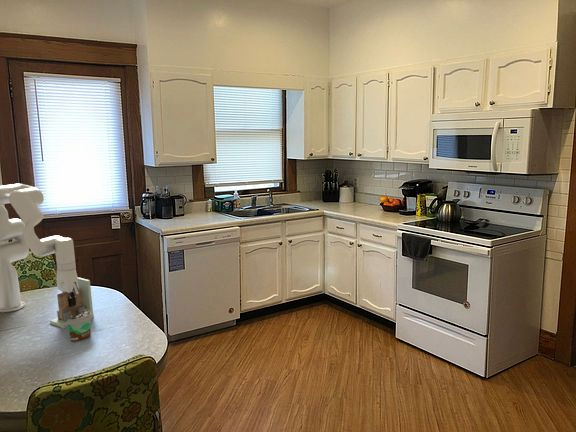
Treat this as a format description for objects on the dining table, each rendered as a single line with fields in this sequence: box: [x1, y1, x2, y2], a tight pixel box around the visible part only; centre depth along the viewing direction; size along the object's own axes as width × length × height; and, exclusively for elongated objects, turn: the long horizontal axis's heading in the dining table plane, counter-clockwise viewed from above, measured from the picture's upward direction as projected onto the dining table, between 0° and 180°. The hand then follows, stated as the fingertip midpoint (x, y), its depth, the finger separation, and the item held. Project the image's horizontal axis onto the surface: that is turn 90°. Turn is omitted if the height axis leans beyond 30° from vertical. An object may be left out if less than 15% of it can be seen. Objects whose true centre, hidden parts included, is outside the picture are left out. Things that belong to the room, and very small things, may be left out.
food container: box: [67, 309, 93, 343], centre depth 204 cm, size 12×6×10 cm, turn 168°
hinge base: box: [49, 276, 95, 329], centre depth 222 cm, size 15×10×18 cm, turn 146°
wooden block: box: [56, 289, 83, 319], centre depth 222 cm, size 10×3×11 cm, turn 146°
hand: (70, 305), depth 222 cm, fingers closed on wooden block, 2 cm apart
